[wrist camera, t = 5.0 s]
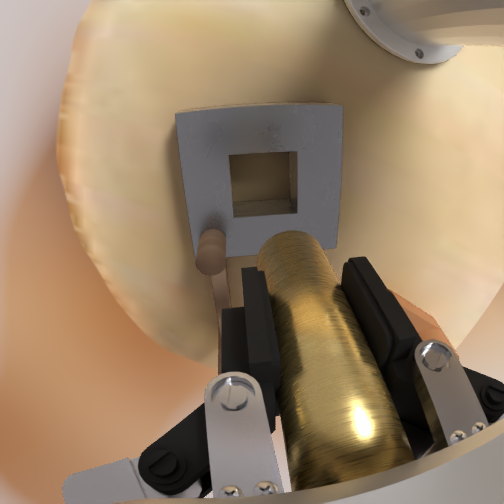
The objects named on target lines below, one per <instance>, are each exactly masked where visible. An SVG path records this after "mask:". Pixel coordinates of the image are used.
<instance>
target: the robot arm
mask: <svg viewBox="0 0 504 504" xmlns="http://www.w3.org/2000/svg"><path fill="white" fill-rule="evenodd" d="M344 2H345V4H346V6H347V7H348V9H349V12H350V14H351V15H352V16H353V18H354V19H355V21H356V22H357V24H358V25H359V26H360V27H361V28H362V30H363V31H364V32H365V33H366V34H367V35H368V36H369V37H370V38H371V39H372V40H373V41H375V42H376V43H377V44H378V45H379V46H380V47H382V48H383V49H385V50H387V51H388V52H390V53H391V54H393V55H395V56H397V57H399V58H401V59H404V60H406V61H410V62H414V63H421V64H438V63H442V62H445V61H448V60H450V59H451V58H453V57H454V56H456V55H457V54H458V53H459V52H460V50H461V49H462V48H463V46H464V45H474V46H500V47H504V0H344ZM360 11H361V12H362V13H363V15H362V14H361V13H360ZM241 270H242V283H243V295H244V307H237V308H225V309H222V314H221V374H220V375H219V376H217V377H215V378H214V379H213V380H211V381H210V383H209V384H208V385H207V387H206V389H205V395H204V400H205V402H204V403H203V404H202V405H201V406H200V407H198V408H197V409H196V410H194V411H193V412H192V413H191V414H190V415H188V416H187V417H186V418H185V419H183V420H182V421H181V422H180V423H179V424H177V425H176V426H175V427H173V428H172V429H171V430H170V431H168V432H167V433H166V434H165V435H164V436H162V437H161V438H159V439H158V440H157V441H155V442H154V443H153V444H151V445H150V446H149V447H147V449H145V450H144V452H142V454H141V456H140V457H137V458H134V459H132V460H130V459H129V458H126V459H122V460H119V461H116V462H113V463H110V464H107V465H103V466H100V467H96V468H93V469H89V470H85V471H82V472H78V473H74V474H72V475H70V476H68V478H67V479H66V480H65V481H64V484H63V487H62V490H63V497H64V501H65V504H504V384H503V383H502V382H500V381H498V380H496V379H493V378H491V377H488V376H486V375H483V374H480V373H478V372H476V371H473V370H470V369H468V368H465V367H463V366H462V365H461V364H460V361H459V359H458V357H457V356H456V354H455V352H454V351H453V349H452V348H451V347H450V346H449V345H447V344H446V343H444V342H442V341H439V340H434V339H432V340H426V341H422V339H421V337H420V336H419V334H418V332H417V331H416V329H415V327H414V326H413V324H412V322H411V321H410V319H409V318H408V316H407V314H406V313H405V311H404V310H403V308H402V307H401V305H400V303H399V302H398V300H397V299H396V297H395V296H394V294H393V293H392V292H391V291H390V290H388V289H387V288H386V286H385V285H384V283H383V282H382V280H381V279H380V277H379V276H378V274H377V273H376V271H375V270H374V268H373V267H372V265H371V264H370V262H369V261H368V259H367V258H366V257H354V258H349V260H348V262H345V263H344V265H343V272H342V280H341V287H342V289H343V291H344V293H345V296H346V298H347V300H348V302H349V304H350V306H351V308H352V310H353V312H354V314H355V316H356V319H357V321H358V323H359V325H360V327H361V329H362V332H363V334H364V336H365V338H366V340H367V342H368V345H369V347H370V349H371V351H372V354H373V356H374V358H375V360H376V363H377V365H378V367H379V370H380V372H381V374H382V377H383V379H384V381H385V384H386V386H387V388H388V391H389V393H390V396H391V398H392V401H393V403H394V406H395V408H396V411H397V413H398V416H399V418H400V421H401V423H402V426H403V428H404V431H405V434H406V436H407V439H408V442H409V444H410V447H411V450H412V452H413V455H414V458H415V461H412V462H410V463H407V464H404V465H401V466H398V467H395V468H392V469H389V470H386V471H383V472H380V473H376V474H373V475H369V476H366V477H362V478H358V479H354V480H350V481H346V482H342V483H338V484H333V485H328V486H323V487H318V488H313V489H307V490H301V491H294V492H288V493H284V490H283V486H282V481H281V477H280V473H279V468H278V464H277V459H276V455H275V451H274V446H273V442H272V437H271V434H272V433H273V432H274V431H275V416H279V415H280V410H279V403H278V391H279V388H280V373H281V364H280V354H279V347H278V342H277V336H276V331H275V325H274V320H273V314H272V309H271V304H270V298H269V293H268V287H267V282H266V277H265V271H258V267H249V268H241ZM212 490H213V497H214V498H204V497H205V496H206V495H207V494H209V493H210V492H211V491H212Z"/></svg>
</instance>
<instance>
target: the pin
mask: <svg viewBox="0 0 504 504" xmlns="http://www.w3.org/2000/svg"><path fill="white" fill-rule="evenodd" d="M257 267H258V271H265V277H266V282H267V287H268V293H269V298H270V304H271V309H272V314H273V320H274V325H275V331H276V336H277V342H278V347H279V354H280V364H281V373H280V388H279V391H278V403H279V410H280V417H281V423H282V430H283V436H284V443H285V450H286V456H287V463H288V469H289V476H290V483H291V490H292V492H294V491H301V490H307V489H313V488H318V487H323V486H328V485H333V484H338V483H342V482H346V481H350V480H354V479H358V478H362V477H366V476H369V475H373V474H376V473H380V472H383V471H386V470H389V469H392V468H395V467H398V466H401V465H404V464H407V463H410V462H412V461H415V458H414V455H413V452H412V450H411V447H410V444H409V442H408V439H407V436H406V434H405V431H404V428H403V426H402V423H401V421H400V418H399V416H398V413H397V411H396V408H395V406H394V403H393V401H392V398H391V396H390V393H389V391H388V388H387V386H386V384H385V381H384V379H383V377H382V374H381V372H380V370H379V367H378V365H377V363H376V360H375V358H374V356H373V354H372V351H371V349H370V347H369V345H368V342H367V340H366V338H365V336H364V334H363V332H362V329H361V327H360V325H359V323H358V321H357V319H356V316H355V314H354V312H353V310H352V308H351V306H350V304H349V302H348V300H347V298H346V296H345V293H344V291H343V289H342V287H341V285H340V283H339V281H338V279H337V277H336V275H335V273H334V271H333V269H332V267H331V265H330V263H329V261H328V259H327V257H326V255H325V254H324V252H323V250H322V248H321V246H320V244H319V242H318V241H317V240H316V239H315V238H314V237H313V236H312V235H310V234H308V233H306V232H303V231H297V230H290V231H284V232H281V233H278V234H276V235H274V236H272V237H271V238H269V239H268V240H267V241H266V242H265V243H264V244H263V246H262V247H261V249H260V251H259V253H258V257H257Z"/></svg>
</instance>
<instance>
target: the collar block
mask: <svg viewBox="0 0 504 504" xmlns="http://www.w3.org/2000/svg"><path fill="white" fill-rule="evenodd" d="M175 119H176V128H177V137H178V145H179V153H180V161H181V169H182V176H183V183H184V190H185V197H186V204H187V211H188V217H189V224H190V230H191V236H192V242H193V248H194V254H195V259H196V256H197V250H198V243H199V238H200V235H201V234H202V233H203V232H204V231H206V230H208V229H217V230H219V231H221V232H222V233H223V234H224V235H225V238H226V257H236V256H248V255H258V253H259V251H260V249H261V247H262V246H263V244H264V243H265V242H266V241H267V240H268V239H269V238H271V237H272V236H274V235H276V234H278V233H281V232H284V231H290V230H297V231H303V232H306V233H308V234H310V235H312V236H313V237H314V238H315V239H316V240H317V241H318V242H319V244H320V246H321V248H322V249H332V248H336V244H337V233H338V221H339V207H340V191H341V172H342V144H343V106H342V105H338V104H333V103H322V102H279V103H253V104H237V105H224V106H213V107H204V108H195V109H187V110H181V111H179V112H177V113H175ZM267 152H289V156H290V199H276V200H261V201H248V202H235V203H233V197H232V185H231V173H230V160H229V155H237V154H251V153H267Z"/></svg>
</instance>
